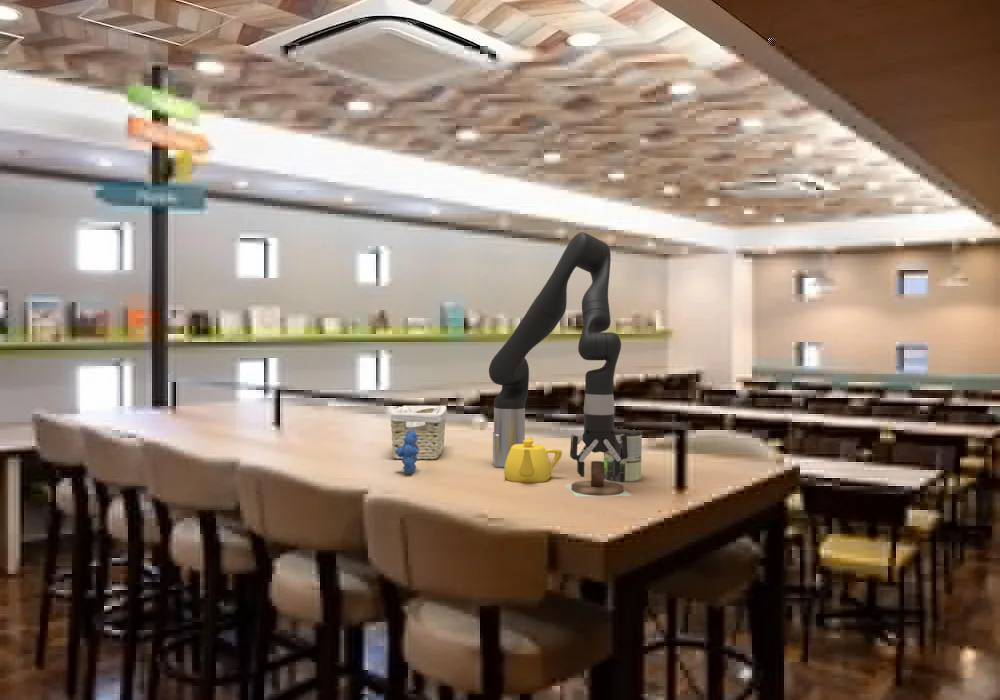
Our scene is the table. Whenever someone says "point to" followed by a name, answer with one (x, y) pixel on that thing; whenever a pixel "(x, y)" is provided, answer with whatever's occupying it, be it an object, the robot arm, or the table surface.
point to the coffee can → (629, 466)
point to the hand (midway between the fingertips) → (598, 475)
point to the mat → (593, 495)
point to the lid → (597, 483)
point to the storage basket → (420, 429)
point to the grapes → (409, 451)
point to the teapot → (529, 462)
